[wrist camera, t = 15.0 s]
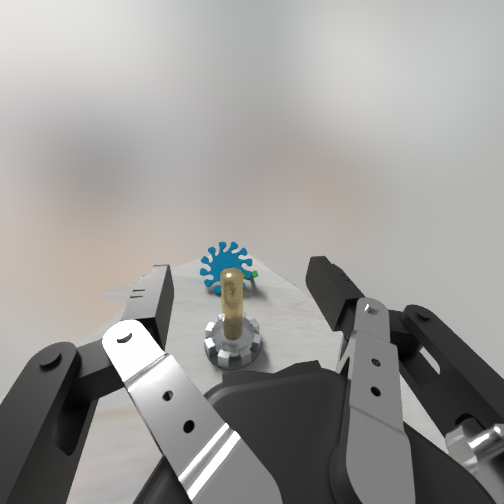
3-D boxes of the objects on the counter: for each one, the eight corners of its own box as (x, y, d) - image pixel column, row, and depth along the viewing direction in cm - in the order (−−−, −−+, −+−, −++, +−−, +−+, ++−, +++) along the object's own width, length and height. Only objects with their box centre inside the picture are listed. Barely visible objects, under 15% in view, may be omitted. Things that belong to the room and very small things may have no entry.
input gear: (252, 375, 27) (256, 305, 21) (196, 359, 28) (183, 289, 22) (265, 326, 33) (271, 261, 27) (218, 315, 35) (213, 252, 29)
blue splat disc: (190, 283, 39) (210, 233, 41) (200, 286, 45) (218, 242, 47) (246, 304, 37) (265, 250, 39) (250, 304, 43) (266, 257, 45)
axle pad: (252, 376, 27) (252, 375, 27) (194, 360, 29) (194, 358, 28) (265, 326, 34) (265, 325, 33) (217, 315, 35) (217, 314, 35)
